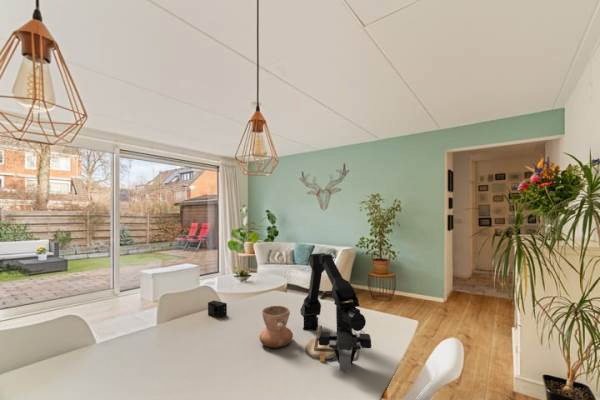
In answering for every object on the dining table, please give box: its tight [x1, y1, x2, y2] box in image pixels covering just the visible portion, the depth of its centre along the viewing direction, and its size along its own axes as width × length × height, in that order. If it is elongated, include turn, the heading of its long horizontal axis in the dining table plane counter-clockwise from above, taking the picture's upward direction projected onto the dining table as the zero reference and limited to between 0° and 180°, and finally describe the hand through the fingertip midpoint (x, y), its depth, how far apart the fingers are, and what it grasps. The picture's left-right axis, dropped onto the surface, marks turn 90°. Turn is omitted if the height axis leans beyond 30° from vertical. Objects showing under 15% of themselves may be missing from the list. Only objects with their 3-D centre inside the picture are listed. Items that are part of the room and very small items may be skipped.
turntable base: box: [304, 347, 337, 363], centre depth 111 cm, size 16×17×2 cm
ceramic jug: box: [259, 305, 294, 349], centre depth 120 cm, size 18×14×14 cm
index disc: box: [305, 324, 340, 359], centre depth 112 cm, size 15×15×6 cm
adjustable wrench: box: [352, 329, 366, 361], centre depth 117 cm, size 25×6×2 cm, turn 158°
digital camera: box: [207, 300, 228, 319], centre depth 152 cm, size 10×5×7 cm, turn 60°
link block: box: [338, 350, 352, 372], centre depth 100 cm, size 4×6×5 cm, turn 170°
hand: (345, 363), depth 100 cm, fingers closed on link block, 4 cm apart
